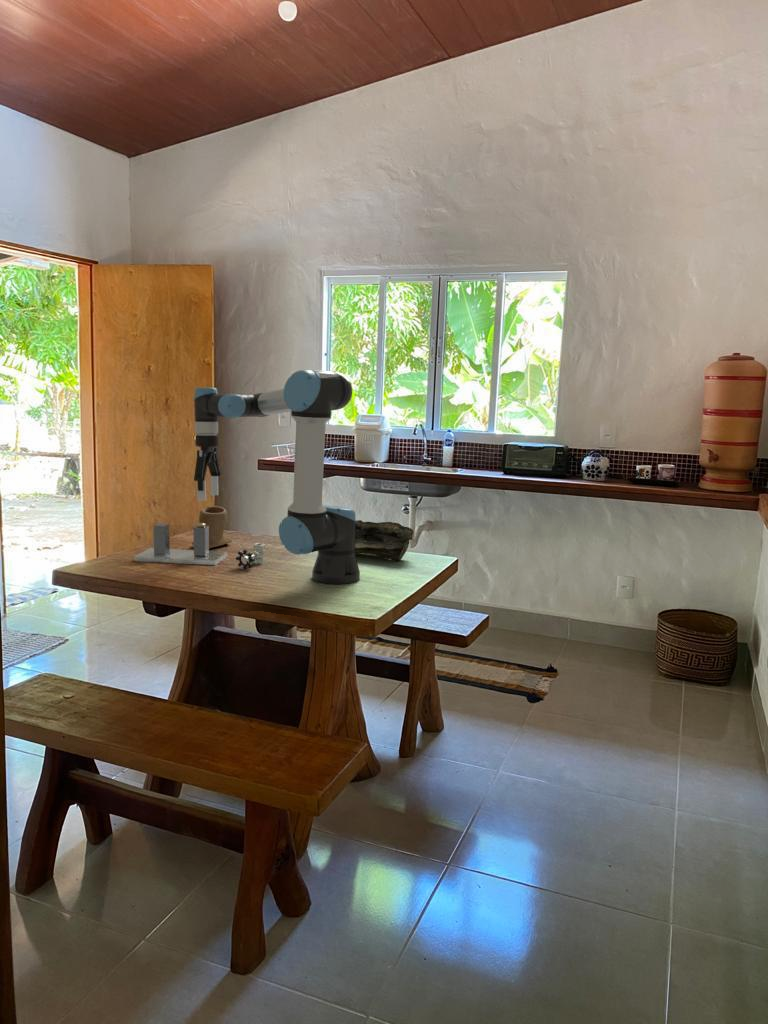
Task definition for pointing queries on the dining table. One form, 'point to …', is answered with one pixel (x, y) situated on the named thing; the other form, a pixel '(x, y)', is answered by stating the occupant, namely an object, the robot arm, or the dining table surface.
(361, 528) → the rock
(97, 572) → the dining table surface
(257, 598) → the dining table surface
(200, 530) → the block
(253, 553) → the valve
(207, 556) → the grey base with knobs
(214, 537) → the stone cup
